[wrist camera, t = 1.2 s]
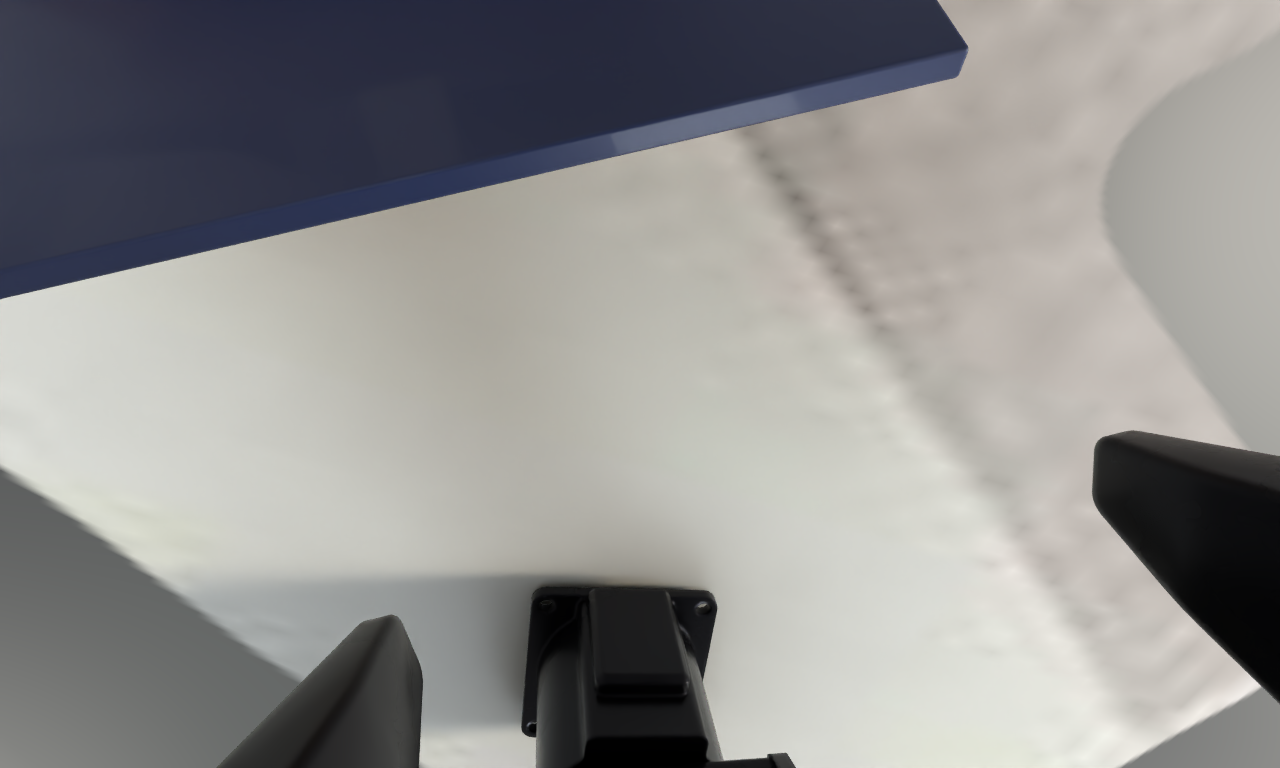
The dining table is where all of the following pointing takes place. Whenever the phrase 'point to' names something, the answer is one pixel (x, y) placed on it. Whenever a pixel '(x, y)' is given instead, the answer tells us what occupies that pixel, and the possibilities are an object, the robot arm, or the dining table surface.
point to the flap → (384, 105)
